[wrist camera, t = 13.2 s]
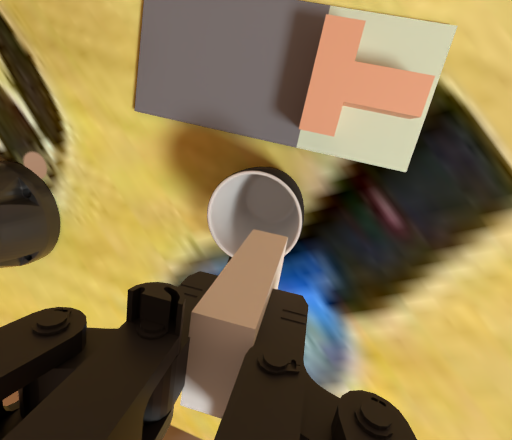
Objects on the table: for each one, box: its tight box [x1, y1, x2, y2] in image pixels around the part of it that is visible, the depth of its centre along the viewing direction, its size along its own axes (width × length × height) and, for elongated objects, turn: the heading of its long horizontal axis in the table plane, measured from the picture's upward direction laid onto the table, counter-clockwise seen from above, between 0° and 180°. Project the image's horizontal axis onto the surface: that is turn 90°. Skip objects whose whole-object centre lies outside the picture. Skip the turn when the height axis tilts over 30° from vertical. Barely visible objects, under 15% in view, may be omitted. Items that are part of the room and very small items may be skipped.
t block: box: [299, 14, 435, 137], centre depth 31 cm, size 10×10×4 cm
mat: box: [135, 0, 457, 172], centre depth 34 cm, size 32×14×1 cm, turn 78°
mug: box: [207, 167, 304, 262], centre depth 34 cm, size 12×9×10 cm
